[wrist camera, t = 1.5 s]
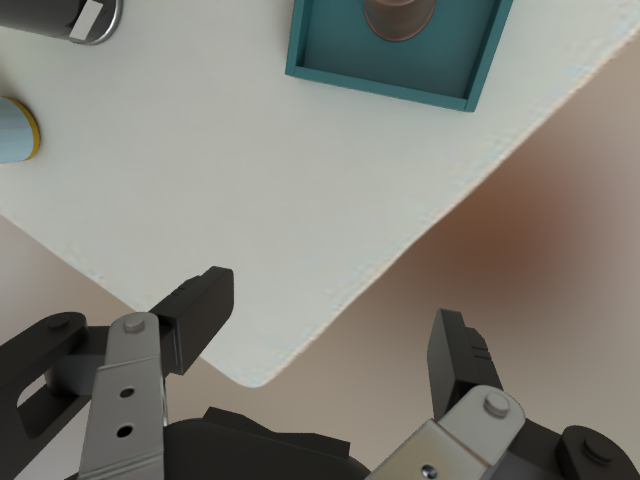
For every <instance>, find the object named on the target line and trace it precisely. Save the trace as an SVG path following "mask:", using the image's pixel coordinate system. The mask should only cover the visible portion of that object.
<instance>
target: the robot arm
mask: <svg viewBox="0 0 640 480" xmlns="http://www.w3.org/2000/svg"><path fill="white" fill-rule="evenodd" d="M122 3H123V0H0V26H2V27H7V28H12V29H16V30H21V31H26V32H31V33H35V34H40V35H45V36H49V37H54V38H59V39H64V40H69V41H71V42H73V43H77V44H82V45H97V44H100V43H102V42H104V41H105V40H107V39H108V38H109V37H110V36H111V35H112V34H113V32H114V31H115V29H116V28H117V25H118V23H119V20H120V17H121V12H122ZM233 306H234V275H233V271H232V270H231V269H227V268H222V267H217V266H212V267H211V268H210V269H209V270H207V271H206V272H205V273H204V274H203V275H202V276H199V275H198V276H196V277H193V278H191V279H189V280H186V281H185V282H184V283H183V284H181V285H180V286H179V287H178V289H175V290H174V291H173V292H172V293H171V295H168V296H167V297H166V298H164V299H163V300H162V301H161V302H159V303H158V304H157V305H156V306H155V307H153V308H152V309H151V310H150V311H148V312H135V313H131V314H127V315H124V316H122V317H120V318H118V319H117V320H116V321H114V322H113V323H112V324H111V326H87V321H86V317H85V316H84V315H83V314H81V313H78V312H63V313H58V314H54V315H51V316H49V317H46V318H44V319H42V320H40V321H39V322H37V323H35V324H34V325H33V326H31V327H29V328H28V329H26V330H25V331H23V332H21V333H20V334H18V335H17V336H15V337H14V338H12V339H10V340H9V341H7V342H6V343H4V344H3V345H1V346H0V480H13V479H14V478H15V477H16V476H17V475H18V474H19V473H20V472H21V471H22V470H23V469H24V468H25V467H26V466H27V465H28V464H29V463H30V462H31V461H32V460H33V459H34V458H35V457H36V456H37V455H38V453H39V452H40V451H41V450H42V449H43V448H44V447H45V446H46V445H47V444H48V443H49V442H50V441H51V440H52V439H53V438H54V437H55V436H56V435H57V434H58V433H59V432H60V431H61V430H62V429H63V428H64V427H65V426H66V425H67V424H68V423H69V421H70V420H71V419H72V418H73V417H74V416H75V415H76V414H77V413H78V412H79V411H80V410H81V409H82V408H83V407H84V406H85V405H86V404H87V403H88V402H89V401H90V400H91V404H90V410H89V416H88V422H87V427H86V433H85V439H84V444H83V450H82V455H81V461H80V467H79V472H77V473H75V474H74V475H72V476H70V477H68V478H66V479H64V480H640V475H639V473H638V472H637V470H636V468H635V467H634V465H633V463H632V462H631V460H630V459H629V457H628V456H627V455H626V453H625V452H624V451H623V450H622V449H621V448H620V447H619V446H618V445H616V444H615V443H614V442H613V441H611V440H610V439H609V438H607V437H605V436H604V435H602V434H601V433H599V432H597V431H594V430H592V429H590V428H587V427H583V426H576V425H574V426H569V427H567V428H565V430H564V431H563V433H562V435H560V434H558V433H556V432H553V431H551V430H549V429H547V428H545V427H543V426H541V425H538V424H536V423H534V422H532V421H531V420H529V419H527V418H526V417H525V413H524V410H523V408H522V407H521V405H520V404H519V403H518V402H517V401H516V400H515V399H514V398H513V397H512V396H510V395H509V394H508V393H506V392H504V390H503V388H502V385H501V382H500V380H499V377H498V375H497V372H496V369H495V366H494V364H493V361H491V359H492V358H491V356H490V353H489V352H488V348H487V345H486V343H485V340H484V338H483V337H482V336H481V335H480V334H479V333H478V332H477V331H476V330H475V329H474V328H468V327H465V324H464V321H463V318H462V315H461V312H458V311H452V310H447V309H442V308H439V309H438V310H437V313H436V316H435V320H434V324H433V328H432V332H431V336H430V339H429V344H428V350H427V362H428V370H429V378H430V387H431V395H432V403H433V412H434V419H432V418H431V419H428V420H427V421H426V422H425V423H424V424H422V425H421V426H420V427H419V428H418V430H416V431H415V432H414V433H413V434H412V435H411V436H410V437H409V438H408V439H407V440H406V441H404V443H402V444H401V445H400V446H399V447H398V448H397V449H396V450H395V451H394V452H393V453H392V454H391V455H390V456H389V457H388V458H386V459H385V460H384V461H383V462H382V463H381V464H380V465H379V466H378V467H377V468H376V469H375V470H374V471H373V472H371V471H370V470H369V469H367V468H366V467H365V466H364V465H363V464H361V463H360V462H359V461H357V460H356V459H354V458H352V457H351V456H349V449H350V442H346V441H342V440H338V439H335V438H331V437H326V436H323V435H319V434H315V433H276V432H273V431H270V430H269V429H267V428H265V427H263V426H261V425H260V424H258V423H256V422H254V421H253V420H251V419H249V418H247V417H245V416H243V415H241V414H237V413H233V412H230V411H225V410H221V409H218V408H214V407H209V408H208V410H207V412H206V413H205V415H204V416H203V418H193V419H186V420H182V421H178V422H175V423H172V424H168V410H167V395H166V381H165V378H166V377H167V376H168V374H169V373H174V374H178V375H182V376H183V375H184V373H185V372H186V371H187V370H188V369H189V367H190V366H191V365H192V364H193V362H194V361H195V360H196V359H197V357H198V356H199V355H200V354H201V352H202V351H203V350H204V349H205V347H206V346H207V345H208V344H209V342H210V341H211V340H212V339H213V337H214V336H215V335H216V334H217V332H218V331H219V330H220V329H221V327H222V326H223V325H224V324H225V322H226V321H227V320H228V319H229V317H230V315H231V313H232V310H233ZM42 374H44V376H45V380H46V384H45V385H44V386H43V387H41V388H40V389H39V390H38V391H37V392H36V393H34V394H33V395H32V396H31V397H30V398H28V399H27V400H26V401H25V402H24V403H23V404H21V405H20V406H19V407H18V408H17V401H18V398H19V396H20V394H21V393H22V391H23V390H24V389H25V388H26V387H28V386H29V385H30V384H31V383H32V382H34V381H35V380H36V379H37V378H39V377H40V376H41V375H42Z"/></svg>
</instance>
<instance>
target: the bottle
mask: <svg viewBox="0 0 640 480" xmlns="http://www.w3.org/2000/svg"><path fill="white" fill-rule="evenodd" d="M39 145H40V132H39V128H38V125H37V123H36V121H35V119H34V118H33V116H32V115H31V113H30V112H29V111H28V110H27V109H25V108H24V107H23V106H22V105H21V104H20V103H18V102H17V101H15V100H13V99H11V98H8V97H0V164H3V163H10V162H17V161H22V160H27V159H30V158H32V157H33V156H34V155H35V154H36V152H37V150H38V148H39Z"/></svg>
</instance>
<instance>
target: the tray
mask: <svg viewBox="0 0 640 480" xmlns="http://www.w3.org/2000/svg"><path fill="white" fill-rule="evenodd" d="M512 2H513V0H437V2H436V6H435V9H434V12H433V15H432V17H431V19H430V21H429V22H428V24H427V25H426V27H425V28H424V29H423V30H422V31H421V32H420V33H419V34H418V35H416V36H415V37H413V38H411V39H409V40H407V41H404V42H398V43H393V42H387V41H384V40H382V39H380V38H379V37H377V36H376V35H375V34H374V33H373V32H372V30H371V29H370V27H369V26H368V23H367V21H366V18H365V15H364V8H363V0H295V2H294V10H293V17H292V25H291V32H290V40H289V47H288V55H287V62H286V70H285V74H286V75H289V76H292V77H295V78H300V79H305V80H310V81H315V82H320V83H325V84H330V85H334V86H339V87H344V88H349V89H354V90H359V91H364V92H369V93H374V94H379V95H384V96H389V97H394V98H399V99H404V100H409V101H414V102H419V103H424V104H429V105H434V106H439V107H444V108H449V109H454V110H458V111H463V112H474V111H475V109H476V106H477V103H478V100H479V97H480V94H481V91H482V89H483V86H484V83H485V80H486V77H487V74H488V71H489V68H490V66H491V63H492V60H493V57H494V54H495V51H496V48H497V45H498V43H499V40H500V37H501V34H502V31H503V28H504V25H505V22H506V20H507V17H508V14H509V11H510V8H511V5H512Z"/></svg>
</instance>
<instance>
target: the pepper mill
mask: <svg viewBox="0 0 640 480" xmlns="http://www.w3.org/2000/svg"><path fill="white" fill-rule="evenodd" d="M436 2H437V0H363V8H364V15H365V18H366V21H367V23H368V26H369V27H370V29H371V30H372V32H373V33H374V34H375V35H376V36H377V37H379V38H380V39H382V40H384V41H387V42H393V43H398V42H404V41H407V40H409V39H411V38H413V37H415V36H416V35H418V34H419V33H420V32H421V31H422V30H423V29H424V28H425V27H426V25H427V24H428V22H429V21H430V19H431V17H432V15H433V12H434V9H435V6H436Z"/></svg>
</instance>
